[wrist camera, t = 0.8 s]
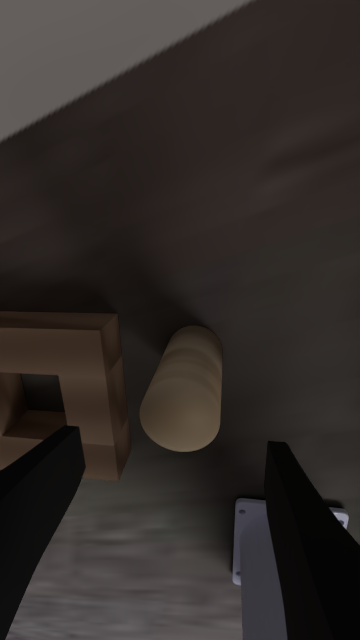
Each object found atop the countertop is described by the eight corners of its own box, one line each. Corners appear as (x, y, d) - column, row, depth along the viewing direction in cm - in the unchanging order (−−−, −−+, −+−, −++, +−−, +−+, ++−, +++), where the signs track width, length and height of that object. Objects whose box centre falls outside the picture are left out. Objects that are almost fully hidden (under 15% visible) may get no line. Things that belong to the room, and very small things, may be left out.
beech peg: (222, 376, 20) (219, 455, 14) (168, 374, 21) (142, 448, 14) (223, 326, 19) (220, 385, 13) (166, 324, 20) (136, 381, 13)
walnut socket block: (131, 449, 24) (118, 481, 21) (2, 438, 25) (-27, 466, 23) (117, 313, 20) (99, 330, 17) (-33, 310, 22) (-72, 325, 19)
